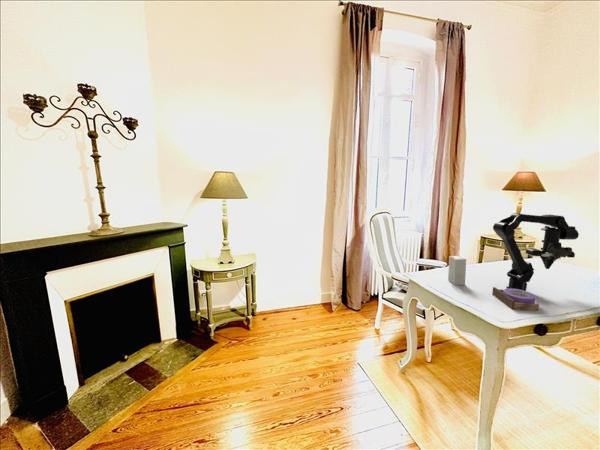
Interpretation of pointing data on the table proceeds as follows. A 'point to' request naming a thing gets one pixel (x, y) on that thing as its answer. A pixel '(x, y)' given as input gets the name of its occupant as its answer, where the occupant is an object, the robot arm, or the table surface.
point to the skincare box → (457, 270)
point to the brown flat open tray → (511, 303)
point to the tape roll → (520, 295)
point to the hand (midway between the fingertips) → (547, 268)
